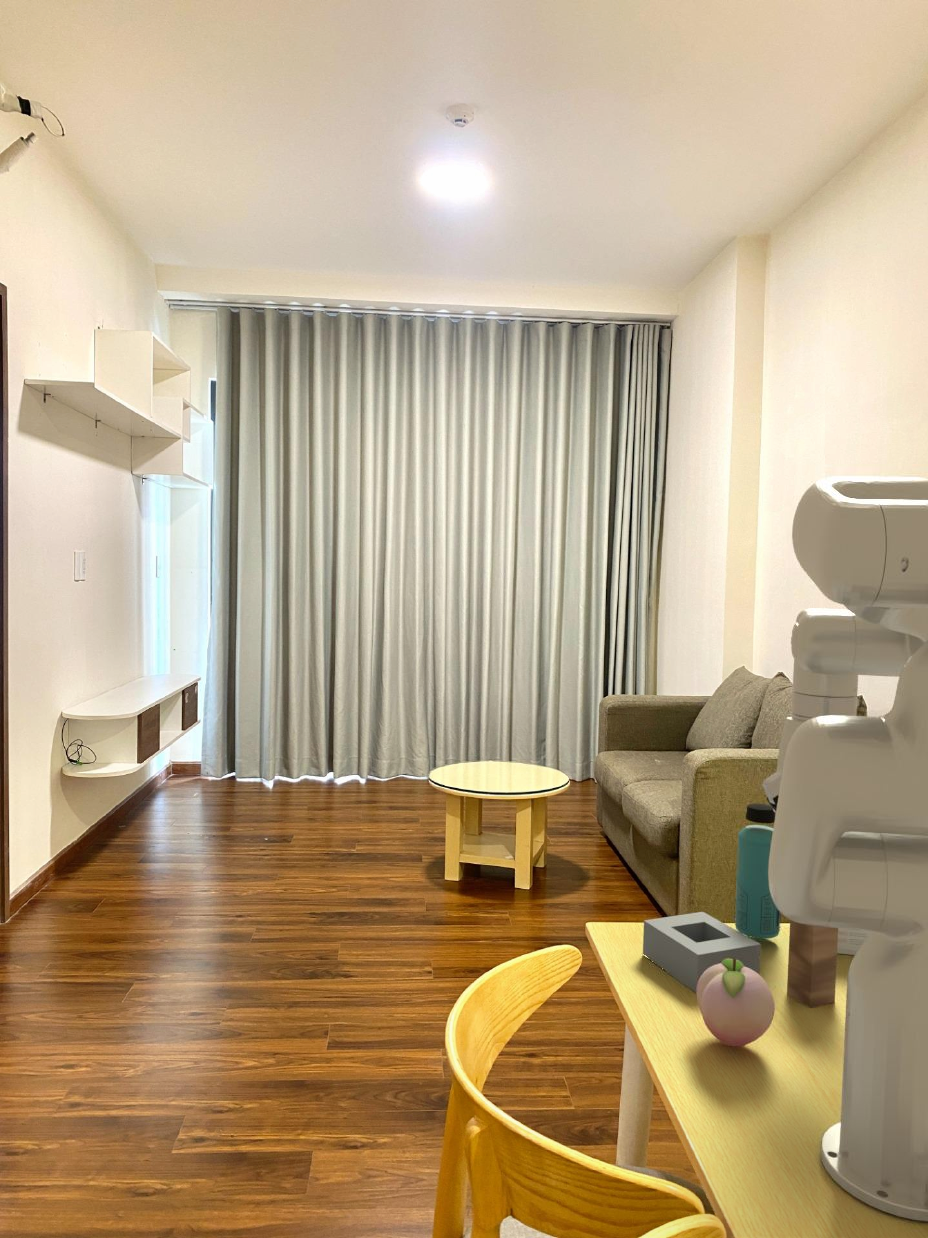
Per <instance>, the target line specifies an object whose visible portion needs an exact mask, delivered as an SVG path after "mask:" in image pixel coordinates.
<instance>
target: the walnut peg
mask: <svg viewBox="0 0 928 1238" xmlns="http://www.w3.org/2000/svg"><path fill="white" fill-rule="evenodd" d="M788 942H789V943H788V961H787V962H788V963H787V964H788V965H787V983H786V984H787V985H786V994H787V995H788V996H790V997H791V998H793V999H795V1000H797V1002H799V1003H801V1004H802V1005H805V1006H806V1007H808V1008H810V1009H812V1008H817V1007H821V1006H826V1005H831V1004H835V1002H836V987H837V986H836V983H837V981H836V980H837V963H838V961H837V960H838V953H837V944H838V928H831V927H822V926H813V925H806V924H801V923H797V922H794V921H792V920H790V919H789V940H788Z"/></svg>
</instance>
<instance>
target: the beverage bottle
mask: <svg viewBox="0 0 928 1238" xmlns="http://www.w3.org/2000/svg"><path fill="white" fill-rule="evenodd" d="M775 816H776V813H775V812H774V811H773V807H772V806H771V805H770V804H765V803H749V804H747V806H746V813H745V820H747V821H749V822H752V823H756V824H750V825H746V826H745V827H743V828H742V829H741V830H740V831H739V832H738V833H737V838H738V839H737V858H736V861H737V862H736V863H737V864H736V868H735V870H736V873H735V875H736V876H735V880H736V881H735V898H734V904H735V907H734V918H733V919H734V923H733V924H734V926H735V930H736V931H738V932H740V933H742V934H743V935H745V936H747V937H749V938H750V937H751V938H755V939H764V940H765V939H774V938H776V937H777V936H779V933H780V931H781V927H782V925H781V921H782V914H781V912H780V911H779V910H778V909H777V907H776V906H775V904H774V902H773V899H772V897H771V893H770V888H769V877H768V868H769V856H770V848H771V841H772V834H773V828H774V827H771V826H767V825H761V824H774V822H775Z"/></svg>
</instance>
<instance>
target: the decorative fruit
mask: <svg viewBox="0 0 928 1238" xmlns="http://www.w3.org/2000/svg"><path fill="white" fill-rule="evenodd" d="M696 999H697V1004H698V1009H699V1011H700V1014H701V1016H702V1019H703V1022H704V1024H705V1027H706V1028H707V1030H708V1031H709V1033H711V1035H713V1037H715V1039H717V1040H718V1041H720V1042H721V1043H723V1044H724V1045H726V1046H727V1047H740V1046H747V1045H748V1044H751V1043H754V1042H755V1041H756V1040H758V1039H760V1037H762V1036H763V1035H764V1034H765V1033H766V1032H767V1030H768V1029H769V1028H770V1026H771V1025H772V1022H773V1020H774V1016H775V1011H776V1010H775V1009H776V1008H775V1007H776V1005H775V999H774V996H773V993H772V991H771V989H770V987H769V985H768V983H767V982H766V980H765V979H764V978H763V977H762V975H760V973H759V974H758V973H756V972H755V971H753V970H752V969H749V968H747V967H744V964H743V963H742V962H741V961H739V960H736V959H735V958H733V959H728V958H727V959H724V960H723V961H722V963H720V964H716V965H713V966H711V967H709V968H708V969H707V970H706V971H705V972H704V973H703V974H702V976H701V977H700V979H699V981H698V984H697V993H696Z"/></svg>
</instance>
